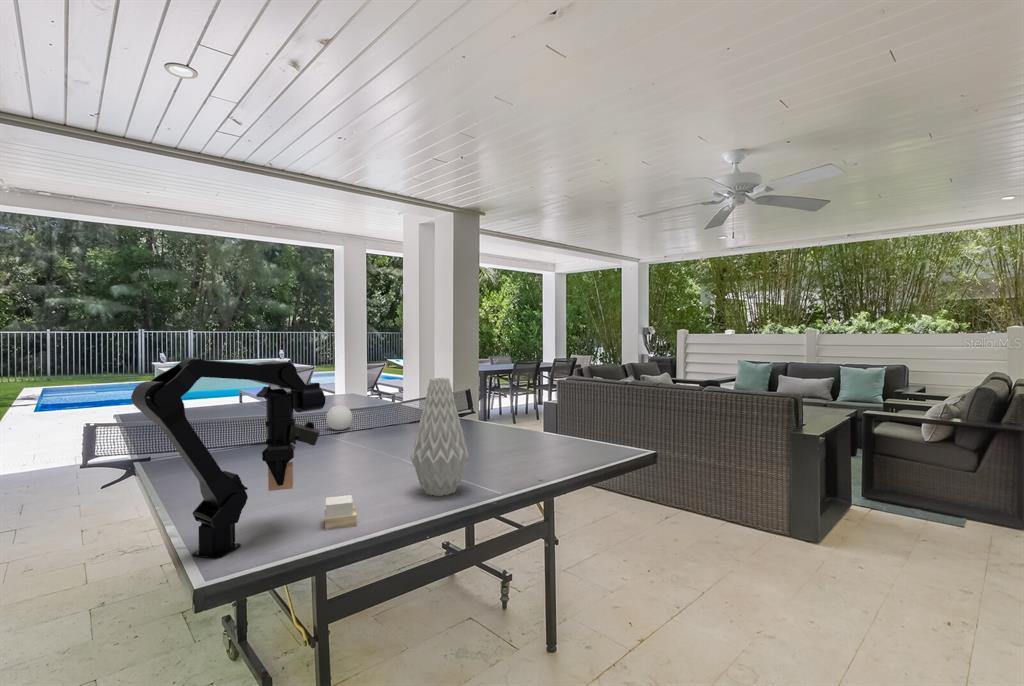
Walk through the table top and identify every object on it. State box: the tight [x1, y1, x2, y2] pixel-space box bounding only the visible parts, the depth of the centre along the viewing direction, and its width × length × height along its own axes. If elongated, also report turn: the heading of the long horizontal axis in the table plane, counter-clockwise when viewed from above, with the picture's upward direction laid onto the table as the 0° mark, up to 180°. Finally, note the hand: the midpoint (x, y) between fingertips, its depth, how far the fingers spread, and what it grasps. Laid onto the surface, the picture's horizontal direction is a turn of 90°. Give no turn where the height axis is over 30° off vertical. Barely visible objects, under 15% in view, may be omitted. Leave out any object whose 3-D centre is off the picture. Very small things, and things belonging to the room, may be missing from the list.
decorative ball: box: [326, 404, 353, 431], centre depth 248 cm, size 12×12×12 cm
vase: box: [410, 377, 470, 497], centre depth 147 cm, size 17×17×33 cm
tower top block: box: [325, 494, 354, 518], centre depth 122 cm, size 6×6×3 cm
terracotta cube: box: [267, 461, 294, 492], centre depth 118 cm, size 5×5×5 cm
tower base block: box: [324, 505, 358, 531], centre depth 123 cm, size 7×7×3 cm
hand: (281, 482), depth 118 cm, fingers closed on terracotta cube, 5 cm apart
